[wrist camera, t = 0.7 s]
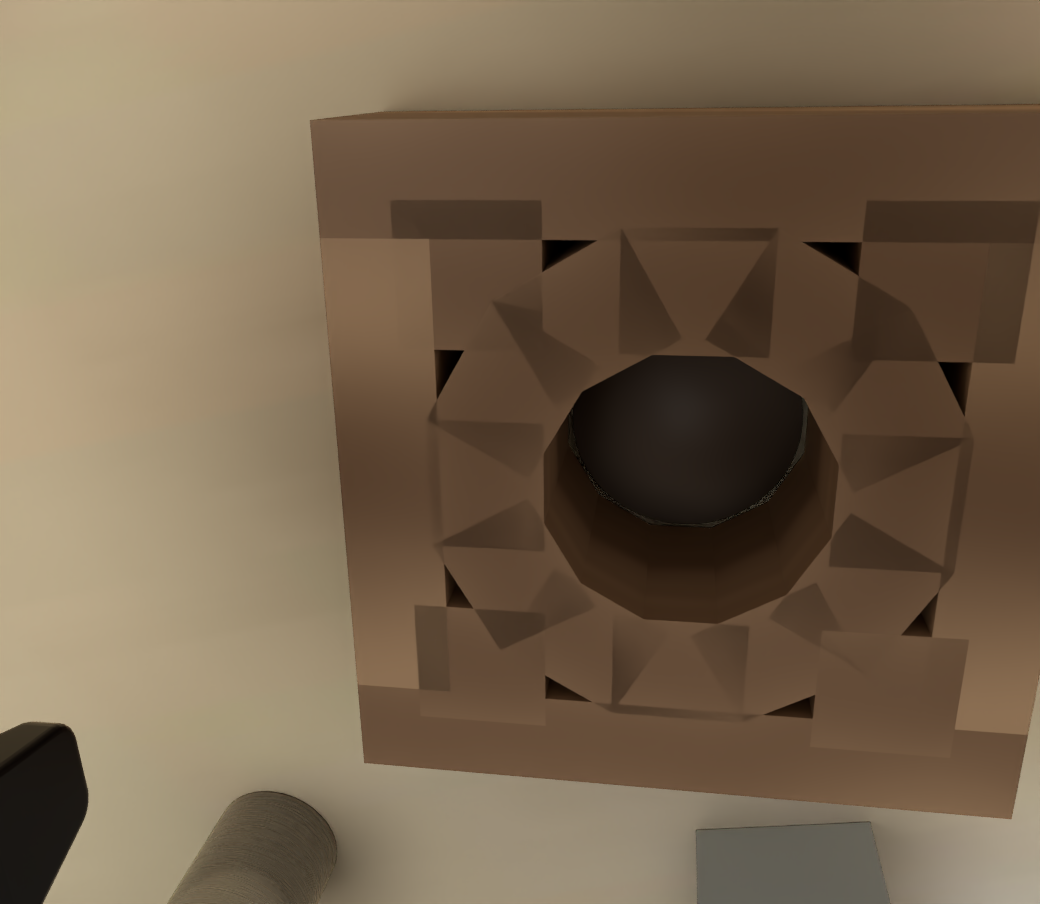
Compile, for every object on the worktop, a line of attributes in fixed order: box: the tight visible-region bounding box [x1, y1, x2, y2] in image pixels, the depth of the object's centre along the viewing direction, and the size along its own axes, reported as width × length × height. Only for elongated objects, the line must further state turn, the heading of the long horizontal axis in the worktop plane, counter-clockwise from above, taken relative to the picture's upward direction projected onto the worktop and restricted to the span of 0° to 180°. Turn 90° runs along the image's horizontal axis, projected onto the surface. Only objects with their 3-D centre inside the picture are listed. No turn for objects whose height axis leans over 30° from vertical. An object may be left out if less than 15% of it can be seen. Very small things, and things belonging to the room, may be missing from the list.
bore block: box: [310, 104, 1040, 819], centre depth 18 cm, size 12×12×4 cm
